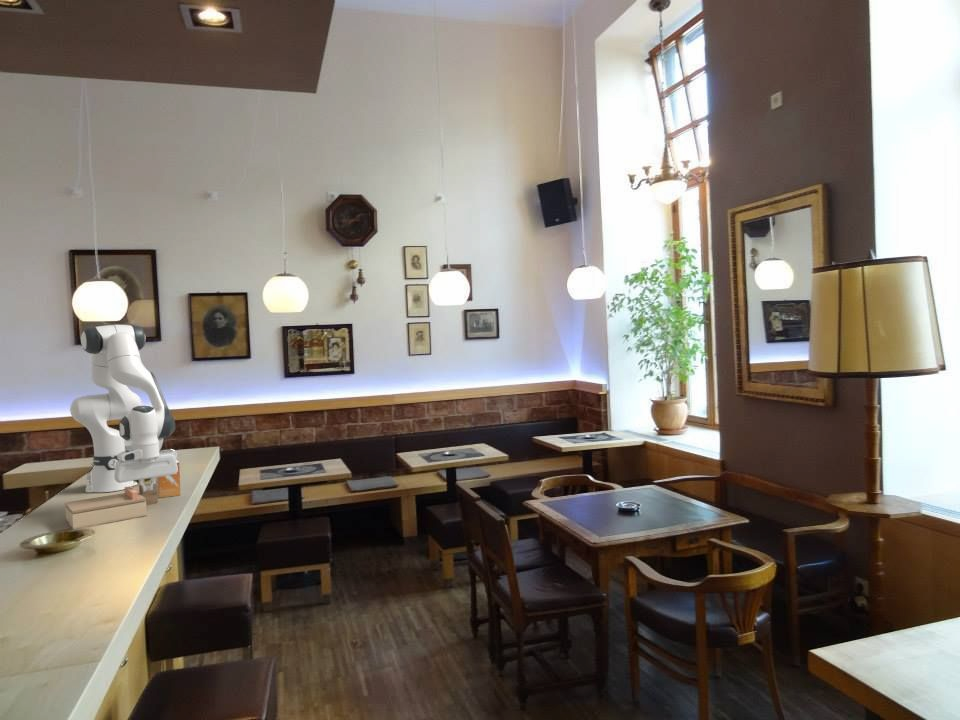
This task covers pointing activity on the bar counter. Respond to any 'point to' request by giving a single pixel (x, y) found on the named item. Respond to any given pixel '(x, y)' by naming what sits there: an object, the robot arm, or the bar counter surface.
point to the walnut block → (149, 494)
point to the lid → (105, 501)
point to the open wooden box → (106, 515)
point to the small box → (169, 484)
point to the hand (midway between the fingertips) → (147, 490)
